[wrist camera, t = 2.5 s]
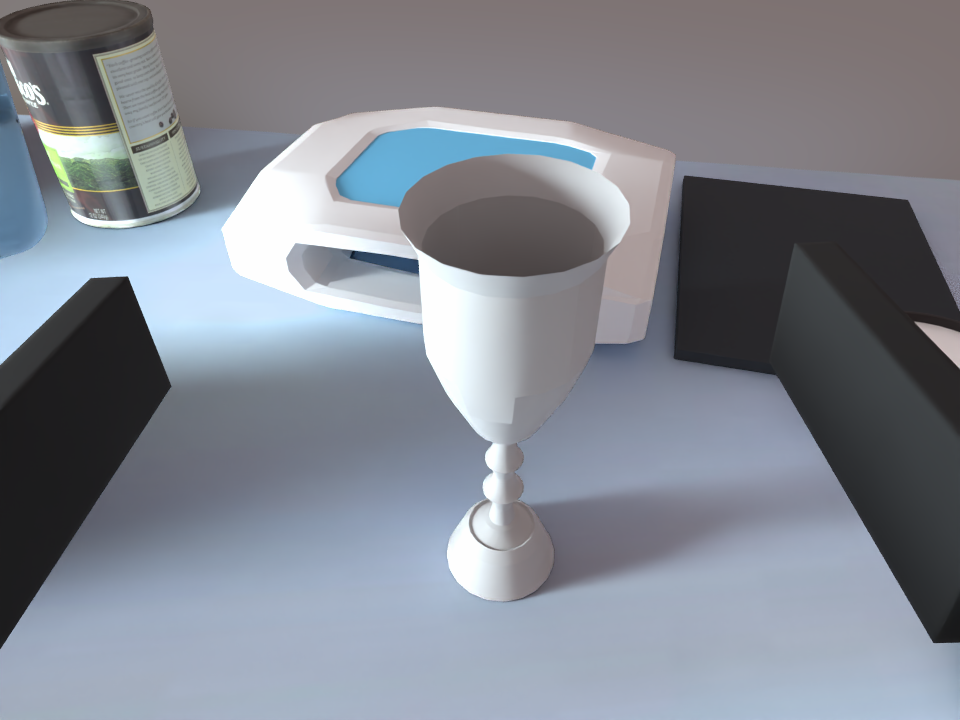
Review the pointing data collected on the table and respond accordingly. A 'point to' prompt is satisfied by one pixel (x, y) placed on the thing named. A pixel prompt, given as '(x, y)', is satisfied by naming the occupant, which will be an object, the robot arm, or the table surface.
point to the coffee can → (102, 109)
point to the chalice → (509, 328)
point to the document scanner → (393, 171)
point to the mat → (784, 261)
